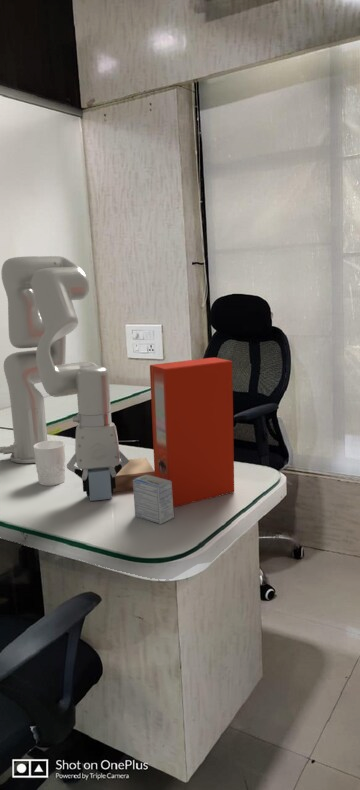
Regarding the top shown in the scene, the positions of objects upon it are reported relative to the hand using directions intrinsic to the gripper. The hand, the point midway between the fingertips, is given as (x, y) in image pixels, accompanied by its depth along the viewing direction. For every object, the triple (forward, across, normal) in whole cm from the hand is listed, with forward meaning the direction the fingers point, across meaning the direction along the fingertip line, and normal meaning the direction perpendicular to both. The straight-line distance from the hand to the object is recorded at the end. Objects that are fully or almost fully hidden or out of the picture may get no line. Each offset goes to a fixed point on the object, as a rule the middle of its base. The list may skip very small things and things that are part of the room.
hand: (99, 491), depth 147 cm
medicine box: (+1, +10, -16) cm, 19 cm away
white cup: (+2, -11, +16) cm, 19 cm away
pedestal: (+1, +8, +9) cm, 12 cm away
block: (+1, 0, 0) cm, 1 cm away
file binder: (+1, +22, -6) cm, 23 cm away
